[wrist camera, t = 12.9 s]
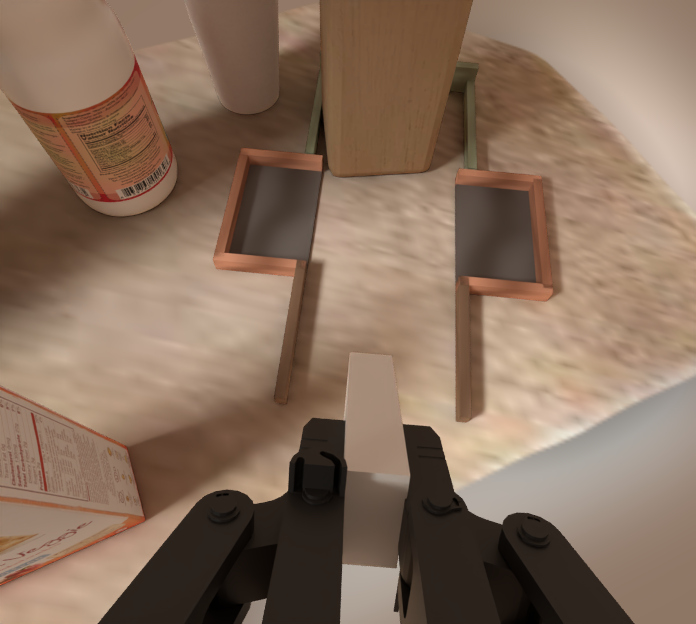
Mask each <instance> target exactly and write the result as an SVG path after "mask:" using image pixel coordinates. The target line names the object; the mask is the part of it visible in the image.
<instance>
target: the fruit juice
mask: <svg viewBox="0 0 696 624" xmlns="http://www.w3.org/2000/svg"><path fill="white" fill-rule="evenodd" d="M0 89H1V90H2V91H3V93H4V94H5V95H6V97H7V98H8V99H9V101H10V102H11V103H12V105H13V106H14V107H15V109H16V110H17V112H18V113H19V114H20V116H21V117H22V118H23V120H24V121H25V123H26V124H27V125H28V127H29V128H30V130H31V131H32V132H33V134H34V135H35V137H36V138H37V139H38V141H39V142H40V144H41V145H42V146H43V148H44V149H45V150H46V152H47V153H48V155H49V156H50V157H51V159H52V160H53V162H54V163H55V164H56V166H57V167H58V169H59V170H60V171H61V173H62V174H63V175H64V177H65V178H66V180H67V181H68V182H69V184H70V185H71V187H72V188H73V189H74V191H75V192H76V193H77V195H78V196H79V197H80V198H81V199H82V200H83V201H84V202H85V203H86V204H87V205H88V206H89V207H91V208H92V209H94V210H96V211H98V212H100V213H103V214H106V215H111V216H131V215H136V214H140V213H143V212H145V211H148V210H150V209H152V208H154V207H155V206H157V205H158V204H160V203H161V202H162V201H163V200H164V199H166V198H167V196H168V195H169V194H170V193H171V191H172V190H173V188H174V186H175V183H176V180H177V163H176V158H175V155H174V153H173V150H172V148H171V145H170V143H169V140H168V138H167V135H166V133H165V130H164V128H163V125H162V123H161V120H160V118H159V115H158V113H157V110H156V108H155V105H154V103H153V100H152V98H151V95H150V93H149V90H148V88H147V85H146V83H145V80H144V78H143V75H142V73H141V70H140V68H139V65H138V63H137V60H136V58H135V55H134V52H133V50H132V47H131V45H130V42H129V40H128V38H127V36H126V34H125V31H124V29H123V27H122V25H121V23H120V21H119V19H118V18H117V16H116V14H115V12H114V11H113V10H112V8H111V7H110V5H109V4H108V3H107V2H106V1H105V0H0Z"/></svg>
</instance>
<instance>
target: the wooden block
mask: <svg viewBox="0 0 696 624" xmlns="http://www.w3.org/2000/svg"><path fill="white" fill-rule="evenodd" d="M472 2H473V0H320V36H321V81H322V111H323V120H324V130H325V139H326V149H327V158H328V167H329V169H330V170H331V172H332V174H333V175H334V176H337V177H349V176H367V175H384V174H402V173H419V172H424V171H426V170H428V168H429V167H430V164H431V161H432V157H433V153H434V149H435V146H436V142H437V138H438V134H439V130H440V126H441V122H442V118H443V115H444V111H445V107H446V103H447V99H448V95H449V91H450V87H451V84H452V80H453V76H454V72H455V68H456V64H457V60H458V57H459V53H460V49H461V45H462V41H463V37H464V33H465V29H466V25H467V22H468V18H469V14H470V10H471V6H472Z"/></svg>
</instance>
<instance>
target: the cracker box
mask: <svg viewBox="0 0 696 624" xmlns="http://www.w3.org/2000/svg"><path fill="white" fill-rule="evenodd" d="M144 521H145V517H144V513H143V509H142V505H141V501H140V497H139V493H138V489H137V485H136V481H135V477H134V473H133V470H132V466H131V461H130V458H129V454H128V449H127V447H126V446H124V445H122V444H121V443H119V442H116V441H115V440H112V439H110V438H108V437H106V436H104V435H102V434H100V433H98V432H96V431H94V430H92V429H90V428H88V427H85V426H83V425H81V424H79V423H77V422H75V421H73V420H71V419H69V418H67V417H65V416H63V415H61V414H58V413H56V412H54V411H52V410H50V409H48V408H46V407H44V406H42V405H40V404H38V403H36V402H34V401H32V400H30V399H28V398H26V397H23V396H21V395H19V394H17V393H15V392H13V391H11V390H9V389H7V388H5V387H3V386H1V385H0V585H3V584H5V583H7V582H9V581H11V580H14V579H16V578H18V577H20V576H23V575H25V574H27V573H29V572H32V571H34V570H36V569H38V568H41V567H43V566H45V565H47V564H50V563H52V562H54V561H56V560H59V559H61V558H63V557H66V556H68V555H70V554H72V553H75V552H77V551H79V550H81V549H84V548H86V547H88V546H90V545H92V544H95V543H97V542H99V541H101V540H104V539H106V538H108V537H110V536H113V535H115V534H117V533H119V532H122V531H124V530H126V529H128V528H131V527H133V526H135V525H137V524H139V523H141V522H144Z"/></svg>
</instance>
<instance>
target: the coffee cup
mask: <svg viewBox="0 0 696 624" xmlns="http://www.w3.org/2000/svg"><path fill="white" fill-rule="evenodd" d="M184 3H185V6H186V9H187V11H188V14H189V17H190V20H191V22H192V25H193V28H194V31H195V34H196V36H197V39H198V42H199V45H200V48H201V50H202V53H203V56H204V59H205V62H206V64H207V67H208V70H209V73H210V76H211V78H212V81H213V84H214V87H215V90H216V92H217V95H218V98H219V100H220V102H221V104H222V105H223V106H224V107H225V108H227V109H228V110H230V111H232V112H235V113H239V114H255V113H260V112H262V111H265V110H267V109H268V108H270V107H271V106H273V105H274V104H275V102H276V101H277V99H278V97H279V30H278V0H184Z"/></svg>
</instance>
